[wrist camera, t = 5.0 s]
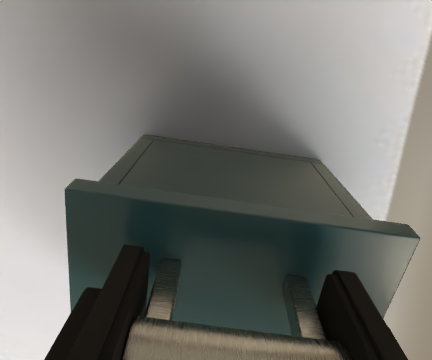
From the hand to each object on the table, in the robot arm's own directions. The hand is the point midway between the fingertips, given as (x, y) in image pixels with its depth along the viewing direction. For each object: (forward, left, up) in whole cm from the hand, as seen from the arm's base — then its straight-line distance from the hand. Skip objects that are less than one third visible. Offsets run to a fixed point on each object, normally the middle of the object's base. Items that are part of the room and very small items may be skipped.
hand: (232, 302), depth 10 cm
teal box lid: (+4, 0, -2) cm, 5 cm away
